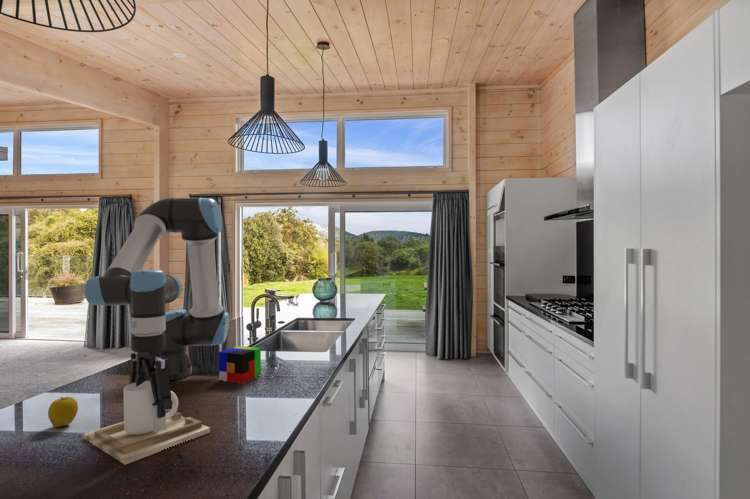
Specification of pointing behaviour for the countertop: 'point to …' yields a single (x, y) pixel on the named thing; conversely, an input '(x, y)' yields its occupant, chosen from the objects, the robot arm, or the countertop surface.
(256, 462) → the countertop surface
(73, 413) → the apple
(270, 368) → the countertop surface
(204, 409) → the countertop surface
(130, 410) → the mug
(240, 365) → the puzzle toy
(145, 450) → the board
